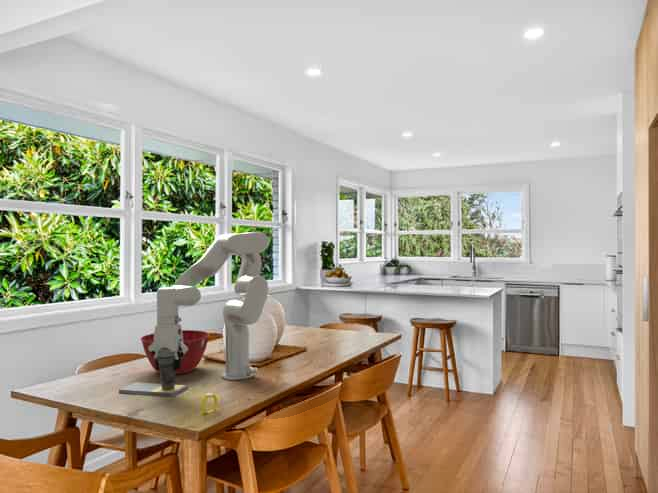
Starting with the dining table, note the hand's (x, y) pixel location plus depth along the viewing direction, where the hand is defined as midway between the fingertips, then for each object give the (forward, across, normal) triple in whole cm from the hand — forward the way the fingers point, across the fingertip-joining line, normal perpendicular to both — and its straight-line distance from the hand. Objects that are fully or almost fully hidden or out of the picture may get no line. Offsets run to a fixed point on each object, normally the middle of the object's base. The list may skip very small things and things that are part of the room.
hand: (168, 368), depth 182 cm
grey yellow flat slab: (+8, +6, 0) cm, 10 cm away
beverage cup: (+7, 0, 0) cm, 7 cm away
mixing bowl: (+9, +14, -29) cm, 33 cm away
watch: (+9, -26, +18) cm, 33 cm away
